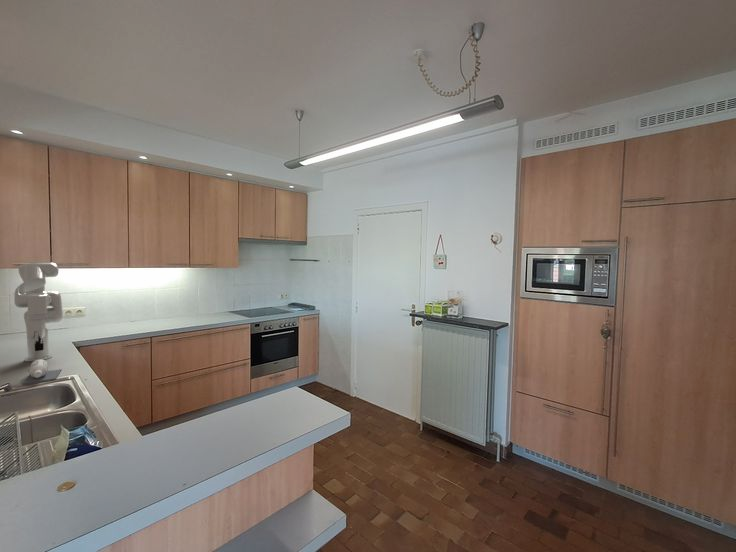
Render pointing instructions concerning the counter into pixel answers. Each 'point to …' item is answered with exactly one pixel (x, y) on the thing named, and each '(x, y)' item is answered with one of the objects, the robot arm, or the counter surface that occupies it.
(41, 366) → the bath foam
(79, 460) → the counter surface
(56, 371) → the mat
